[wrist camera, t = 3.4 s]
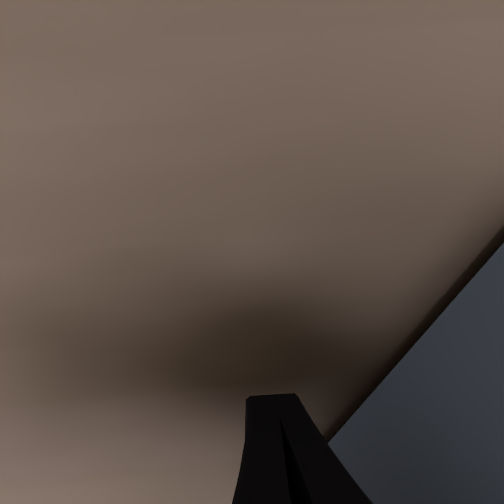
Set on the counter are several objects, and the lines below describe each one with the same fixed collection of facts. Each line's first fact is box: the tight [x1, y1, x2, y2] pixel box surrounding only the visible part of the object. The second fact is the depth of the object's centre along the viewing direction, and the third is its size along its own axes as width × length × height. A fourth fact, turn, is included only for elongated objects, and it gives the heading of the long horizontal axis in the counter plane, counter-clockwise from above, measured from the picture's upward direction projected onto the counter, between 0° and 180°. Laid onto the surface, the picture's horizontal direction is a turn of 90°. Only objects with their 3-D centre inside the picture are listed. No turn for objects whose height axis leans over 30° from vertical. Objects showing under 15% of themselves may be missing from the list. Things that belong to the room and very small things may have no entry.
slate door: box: [328, 243, 504, 504], centre depth 9 cm, size 2×13×5 cm, turn 149°
